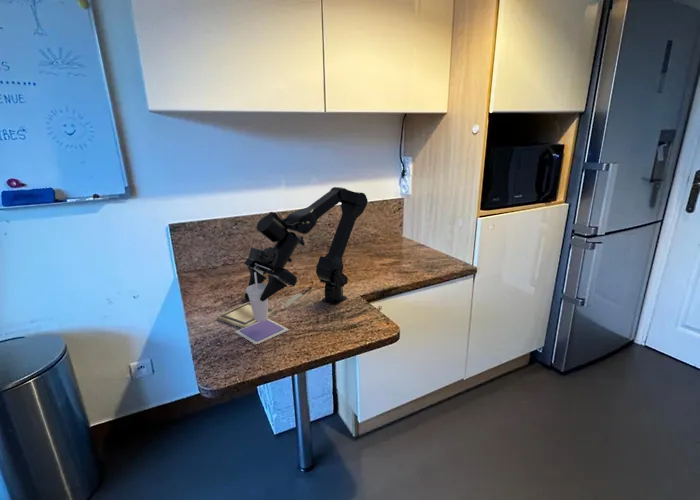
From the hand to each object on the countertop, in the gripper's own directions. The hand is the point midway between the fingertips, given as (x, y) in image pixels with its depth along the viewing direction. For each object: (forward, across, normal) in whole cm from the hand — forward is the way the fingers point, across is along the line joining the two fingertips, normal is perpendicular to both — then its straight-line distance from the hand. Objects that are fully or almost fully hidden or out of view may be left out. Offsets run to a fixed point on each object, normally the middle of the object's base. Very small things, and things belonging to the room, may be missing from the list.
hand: (254, 297), depth 102 cm
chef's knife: (-8, -12, +25) cm, 29 cm away
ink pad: (+7, 0, +9) cm, 11 cm away
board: (+5, -13, +11) cm, 17 cm away
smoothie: (+4, 0, +6) cm, 7 cm away
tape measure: (-1, -22, +18) cm, 28 cm away
